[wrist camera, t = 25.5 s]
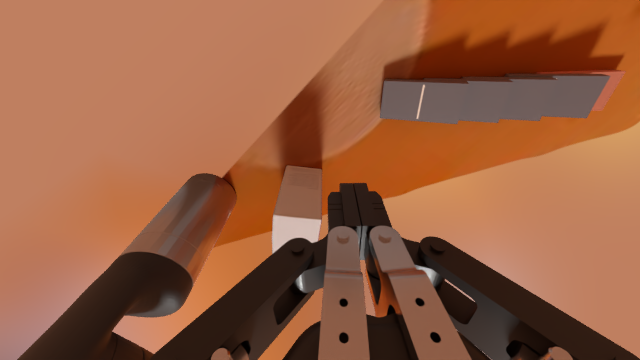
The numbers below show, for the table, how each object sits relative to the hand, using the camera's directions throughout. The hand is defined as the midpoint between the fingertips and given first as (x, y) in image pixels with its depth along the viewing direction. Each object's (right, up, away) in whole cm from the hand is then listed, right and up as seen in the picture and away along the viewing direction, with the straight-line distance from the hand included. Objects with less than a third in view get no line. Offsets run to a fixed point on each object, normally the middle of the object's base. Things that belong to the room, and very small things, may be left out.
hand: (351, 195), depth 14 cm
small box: (-5, 0, +29) cm, 29 cm away
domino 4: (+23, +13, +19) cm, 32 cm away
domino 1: (+7, +12, +19) cm, 24 cm away
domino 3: (+17, +12, +19) cm, 29 cm away
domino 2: (+12, +12, +19) cm, 26 cm away
